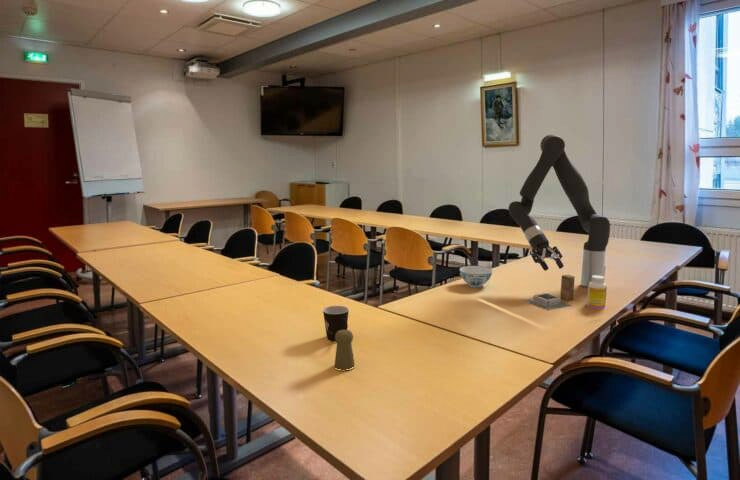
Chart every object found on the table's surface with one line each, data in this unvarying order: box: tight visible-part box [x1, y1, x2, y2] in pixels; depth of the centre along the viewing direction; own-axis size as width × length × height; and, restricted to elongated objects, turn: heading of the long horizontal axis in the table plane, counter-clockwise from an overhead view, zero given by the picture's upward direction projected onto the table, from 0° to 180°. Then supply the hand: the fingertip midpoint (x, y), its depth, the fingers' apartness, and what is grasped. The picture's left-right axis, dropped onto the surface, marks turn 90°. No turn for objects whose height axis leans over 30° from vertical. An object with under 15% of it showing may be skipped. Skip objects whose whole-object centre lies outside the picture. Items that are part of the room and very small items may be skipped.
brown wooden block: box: [559, 274, 576, 302], centre depth 192 cm, size 4×4×11 cm
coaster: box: [522, 297, 573, 311], centre depth 188 cm, size 13×14×1 cm
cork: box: [334, 329, 356, 370], centre depth 134 cm, size 6×6×11 cm
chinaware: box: [459, 265, 493, 289], centre depth 217 cm, size 15×15×8 cm
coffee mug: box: [322, 305, 350, 342], centre depth 154 cm, size 12×9×10 cm
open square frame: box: [529, 292, 566, 308], centre depth 188 cm, size 10×10×3 cm
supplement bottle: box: [586, 275, 608, 309], centre depth 184 cm, size 7×7×13 cm
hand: (554, 268), depth 197 cm, fingers open, 8 cm apart
